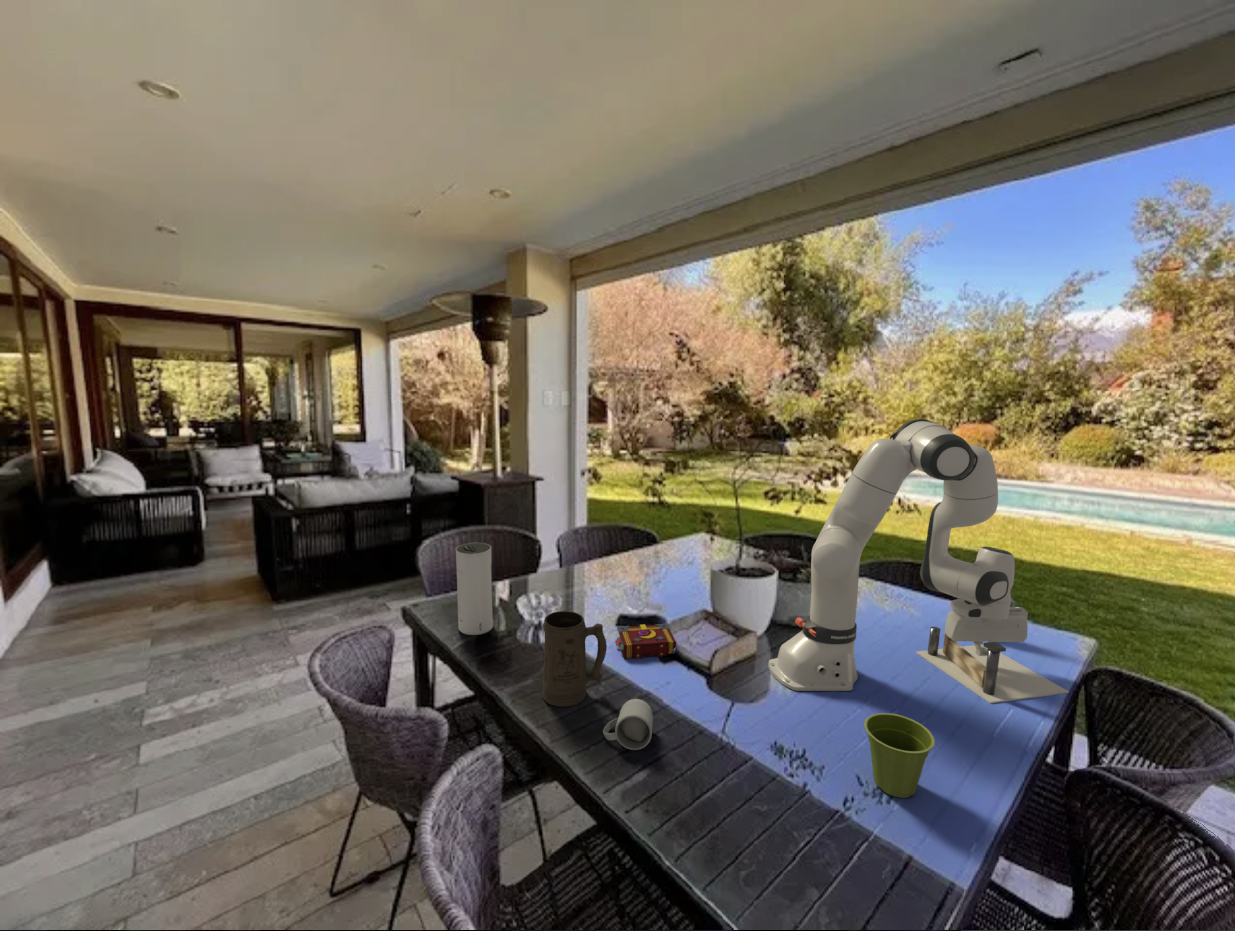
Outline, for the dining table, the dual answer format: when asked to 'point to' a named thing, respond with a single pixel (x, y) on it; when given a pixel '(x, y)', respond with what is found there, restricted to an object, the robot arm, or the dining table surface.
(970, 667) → the gate
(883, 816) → the dining table surface
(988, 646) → the gate post
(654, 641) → the decorative book
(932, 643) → the post
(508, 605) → the dining table surface
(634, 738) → the ceramic mug
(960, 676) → the mat
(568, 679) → the beer stein
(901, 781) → the plant pot
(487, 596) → the speaker
